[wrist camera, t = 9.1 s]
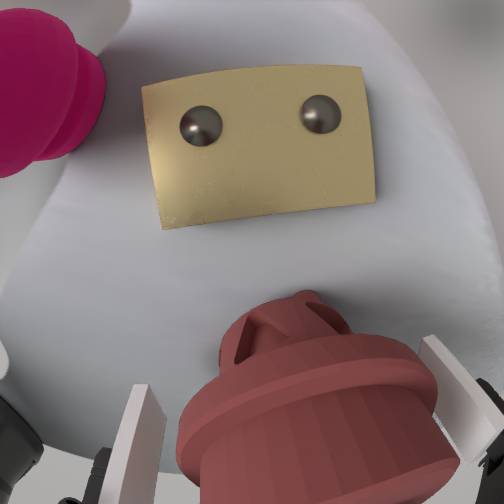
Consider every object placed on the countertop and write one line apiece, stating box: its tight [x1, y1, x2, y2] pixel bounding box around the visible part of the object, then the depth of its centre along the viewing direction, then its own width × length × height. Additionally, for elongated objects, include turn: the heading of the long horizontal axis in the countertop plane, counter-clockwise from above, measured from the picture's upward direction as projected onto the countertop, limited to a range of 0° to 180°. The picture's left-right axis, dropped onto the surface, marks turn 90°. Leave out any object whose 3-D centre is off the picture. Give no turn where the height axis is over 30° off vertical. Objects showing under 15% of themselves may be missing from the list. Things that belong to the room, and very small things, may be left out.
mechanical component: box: [176, 290, 460, 504], centre depth 10 cm, size 12×10×10 cm
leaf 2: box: [141, 65, 376, 230], centre depth 11 cm, size 9×6×2 cm, turn 97°
